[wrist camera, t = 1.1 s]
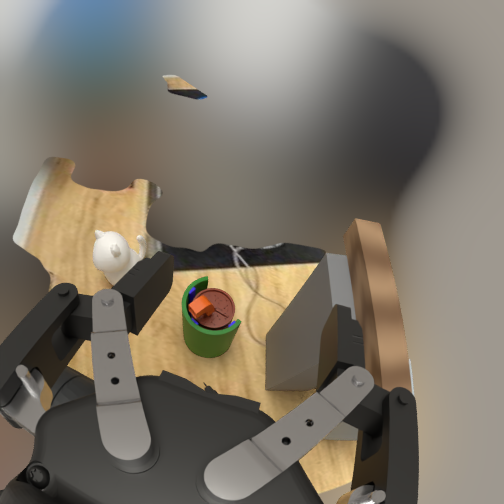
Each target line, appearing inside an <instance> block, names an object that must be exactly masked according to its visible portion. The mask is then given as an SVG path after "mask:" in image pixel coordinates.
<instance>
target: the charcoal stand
mask: <svg viewBox="0 0 504 504" xmlns="http://www.w3.org/2000/svg"><path fill="white" fill-rule="evenodd" d="M335 304H339V305H343V306H346V307H350V308H351V315H352V319H354V320H356V315H355V307H354V299H353V292H352V286H351V279H350V273H349V266H348V260H347V256H345V255H338V254H330V253H326V254H325V256H324V257H323V258H322V260H321V261H320V263H319V264H318V266H317V267H316V268H315V270H314V271H313V273H312V274H311V275H310V277H309V278H308V280H307V281H306V282H305V284H304V285H303V286H302V288H301V289H300V291H299V292H298V293H297V295H296V296H295V297H294V299H293V300H292V301H291V303H290V304H289V305H288V307H287V308H286V309H285V311H284V312H283V313H282V315H281V316H280V317H279V319H278V320H277V321H276V323H275V324H274V325H273V327H272V328H271V329H270V330H269V332H268V333H267V334H266V380H265V390H276V391H305V390H311V389H313V388H316V387H317V378H318V366H319V354H320V339H321V334H322V330H323V327H324V325H325V323H326V321H327V319H328V317H329V315H330V313H331V311H332V309H333V307H334V305H335Z"/></svg>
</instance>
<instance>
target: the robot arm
mask: <svg viewBox="0 0 504 504" xmlns="http://www.w3.org/2000/svg"><path fill="white" fill-rule="evenodd" d="M173 266H174V257H173V255H170V254H167V253H164V252H161V251H158V252H157V253H156V254H155V255H154V256H153V257H152V258H151V259H150V258H145V259H143V260H140V261H138V262H137V263H136V264H135V265H134V266H133V267H132V269H130V270H129V271H128V272H127V273H126V274H125V275H124V276H123V277H122V278H121V279H120V280H119V281H118V282H117V283H116V284H115V285H114V286H113V287H112V288H111V289H103V290H100V291H98V292H97V293H96V294H95V295H94V296H90V295H83V294H78V291H77V288H76V286H75V285H73V284H71V283H61V284H58V285H56V286H55V287H54V288H53V289H52V290H51V291H50V292H49V293H48V294H47V295H46V296H45V297H44V298H43V299H42V300H41V301H40V302H39V303H38V304H37V305H36V306H35V307H34V308H33V309H32V310H31V311H30V312H29V313H28V314H27V316H26V317H25V318H24V319H23V320H22V321H21V322H20V323H19V325H17V327H16V328H15V329H14V330H13V331H12V332H11V333H10V335H9V336H8V337H7V338H6V339H5V340H4V342H3V343H2V344H1V345H0V414H1V415H2V416H3V417H4V418H5V419H6V420H7V421H8V422H9V423H10V424H11V425H12V426H13V427H15V428H24V429H25V430H26V431H28V432H29V433H30V434H32V435H34V436H35V442H34V449H33V454H32V458H31V460H30V462H29V464H28V466H27V467H26V468H25V469H24V470H23V471H22V472H21V473H20V474H18V475H17V476H16V477H15V478H14V479H12V480H11V481H10V482H9V483H8V485H7V486H6V488H5V489H4V490H0V504H324V503H323V502H322V500H321V499H320V497H319V496H318V493H317V492H316V490H315V488H314V487H313V485H312V483H311V482H310V480H309V478H308V477H307V475H306V473H305V471H304V470H303V468H302V466H301V464H300V463H299V461H298V460H300V459H301V458H302V457H303V456H304V455H306V454H307V453H308V452H309V451H310V450H311V449H313V448H314V447H315V446H316V445H317V444H318V443H319V442H321V441H322V440H323V439H324V438H325V437H326V436H327V435H328V434H329V433H330V432H331V431H333V430H334V429H335V428H336V427H337V426H338V425H339V424H340V423H341V422H342V421H343V422H345V423H347V424H349V425H351V426H353V427H355V428H357V429H358V436H357V446H356V456H355V464H354V471H353V479H352V485H351V491H350V492H348V493H346V494H344V495H342V496H341V497H340V498H339V499H338V501H337V503H336V504H417V500H418V477H419V474H418V473H419V450H418V449H419V448H418V425H417V410H416V400H415V397H414V395H413V394H412V393H411V392H410V391H409V390H408V389H406V388H403V387H395V388H394V389H392V390H391V391H390V392H389V391H387V390H385V389H383V388H381V387H379V386H377V385H376V384H374V379H373V377H372V375H371V374H370V372H369V371H367V370H366V369H365V354H364V345H363V344H364V342H363V331H362V327H361V326H360V324H359V322H358V320H354V319H352V315H351V308H350V307H346V306H343V305H339V304H335V305H334V307H333V309H332V311H331V313H330V315H329V317H328V319H327V321H326V323H325V325H324V327H323V330H322V334H321V339H320V354H319V366H318V378H317V388H316V393H314V394H313V395H312V396H310V397H309V398H308V399H307V400H305V401H304V402H303V403H301V404H300V405H299V406H297V407H296V408H295V409H293V410H292V411H291V412H289V413H288V414H287V415H285V416H284V417H282V418H281V419H280V420H278V421H277V422H275V421H274V420H273V419H272V418H271V417H270V416H268V415H267V414H265V413H264V412H262V411H260V410H259V407H260V403H259V402H256V401H252V400H249V399H245V398H242V397H238V396H233V395H222V394H212V393H208V392H206V391H204V390H203V389H201V388H199V387H198V386H196V385H195V384H193V383H192V382H190V381H188V380H187V379H185V378H182V377H180V376H177V375H174V374H172V373H169V372H167V371H164V370H163V371H162V373H161V375H160V376H153V375H146V376H139V377H135V372H134V367H133V362H132V357H131V351H130V345H129V340H128V334H129V333H130V332H131V333H133V334H135V335H138V334H139V332H140V331H141V330H142V328H143V327H144V325H145V324H146V323H147V321H148V320H149V319H150V317H151V316H152V314H153V313H154V312H155V310H156V309H157V308H158V306H159V305H160V304H161V302H162V301H163V299H164V298H165V297H166V295H167V294H168V293H169V291H170V289H171V286H172V282H173ZM85 340H89V341H91V348H92V362H93V373H94V380H92V379H90V378H88V377H87V376H85V375H83V374H81V373H80V372H78V371H76V370H74V369H72V368H70V367H68V366H67V365H68V363H69V362H70V360H71V359H72V358H73V356H74V355H75V353H76V352H77V351H78V349H79V348H80V346H81V345H82V344H83V342H84V341H85Z"/></svg>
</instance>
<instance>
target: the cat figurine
mask: <svg viewBox="0 0 504 504" xmlns="http://www.w3.org/2000/svg"><path fill="white" fill-rule="evenodd" d="M95 236H96V239H97V240H96V241H95V244H94V249H93V263H94V265H95V267H96V268H97V269H98V270H100V271H103V272H104V275H105V277H106V278H107V280H108V281H109V282H110V283H111V284H112V285H113V286H114V285H115V284H116V283H117V282H118V281H119V280H120V279H121V278H122V277H123V276H124V275H125V274H126V273H127V272H128V271H129V270H130V269H132V267H133V266H134V265H135V264H136V263H137V262H138V261H140V260H143V259H144V256H145V253H146V241H145V239H144V238H143V237H142V236H141V235H138V236H137V240H138V242H139V244H140V250H139V254H137V253H136V252H135V251H134V250H133V249H131V248H130V247H129V245H128V243H127V241H126V240H125V238H124V237H123V236H121V235H120V234H118V233H116V232H113V231H108V232H102V231H99V230H96V231H95Z"/></svg>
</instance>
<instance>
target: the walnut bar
mask: <svg viewBox="0 0 504 504" xmlns="http://www.w3.org/2000/svg"><path fill="white" fill-rule="evenodd" d="M343 238H344V243H345V249H346V255H347V260H348V266H349V273H350V279H351V286H352V292H353V299H354V307H355V315H356V320H358V322H359V324H360V326H361V327H362V331H363V342H364V344H363V345H364V354H365V369H366V370H367V371H369V372H370V374H371V375H372V377H373V379H374V384H376V385H377V386H379V387H381V388H383V389H385V390H387V391H389V392H390V391H391V390H392V389H394V388H395V387H403V388H406V389H408V390H409V391H410V392H411V393H412V386H411V376H410V367H409V359H408V351H407V344H406V337H405V331H404V325H403V319H402V314H401V309H400V303H399V298H398V293H397V289H396V285H395V280H394V275H393V271H392V267H391V262H390V259H389V255H388V251H387V247H386V243H385V239H384V236H383V233H382V229H381V225H380V223H376V222H371V221H366V220H361V219H355V220H354V221H353V223H352V224H351V226H350V227H349V229H348V230H347V231H346V233H345V234H344V236H343Z"/></svg>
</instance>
